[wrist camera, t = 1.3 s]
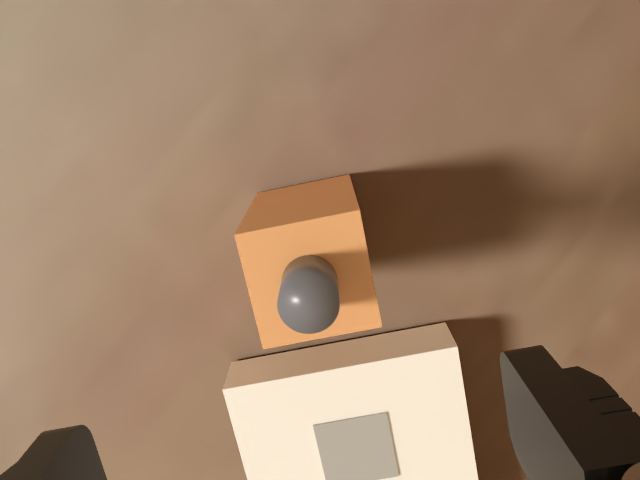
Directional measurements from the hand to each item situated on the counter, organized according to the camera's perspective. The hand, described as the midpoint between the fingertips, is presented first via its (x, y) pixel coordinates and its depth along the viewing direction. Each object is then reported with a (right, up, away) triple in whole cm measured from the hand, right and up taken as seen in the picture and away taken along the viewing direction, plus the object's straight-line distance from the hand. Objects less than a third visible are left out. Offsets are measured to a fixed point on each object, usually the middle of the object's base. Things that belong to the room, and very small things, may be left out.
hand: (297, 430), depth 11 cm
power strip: (+3, -9, +18) cm, 20 cm away
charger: (0, +4, +14) cm, 15 cm away
